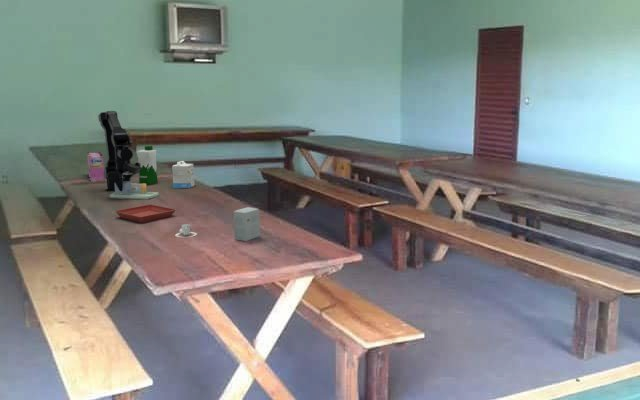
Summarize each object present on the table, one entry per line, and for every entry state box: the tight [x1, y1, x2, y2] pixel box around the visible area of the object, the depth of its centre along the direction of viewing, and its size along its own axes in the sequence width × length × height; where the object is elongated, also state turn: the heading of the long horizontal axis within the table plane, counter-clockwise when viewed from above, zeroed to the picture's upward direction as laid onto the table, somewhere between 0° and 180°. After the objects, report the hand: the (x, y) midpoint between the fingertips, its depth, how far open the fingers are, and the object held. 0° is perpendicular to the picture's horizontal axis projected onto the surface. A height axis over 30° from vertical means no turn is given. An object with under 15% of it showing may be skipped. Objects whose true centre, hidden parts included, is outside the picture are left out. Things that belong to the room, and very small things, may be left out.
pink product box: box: [86, 151, 106, 181], centre depth 362 cm, size 24×8×14 cm, turn 22°
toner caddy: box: [114, 180, 148, 194], centre depth 307 cm, size 15×5×5 cm, turn 77°
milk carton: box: [135, 145, 159, 186], centre depth 340 cm, size 9×9×20 cm
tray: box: [108, 191, 160, 201], centre depth 307 cm, size 21×10×2 cm, turn 77°
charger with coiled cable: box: [174, 223, 198, 239], centre depth 236 cm, size 9×8×4 cm
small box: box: [233, 206, 261, 242], centre depth 230 cm, size 8×6×10 cm
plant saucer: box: [114, 204, 177, 223], centre depth 265 cm, size 18×18×3 cm
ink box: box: [171, 160, 195, 189], centre depth 331 cm, size 9×8×13 cm
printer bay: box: [131, 182, 141, 190], centre depth 321 cm, size 9×10×3 cm
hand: (124, 190), depth 308 cm, fingers closed on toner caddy, 5 cm apart
